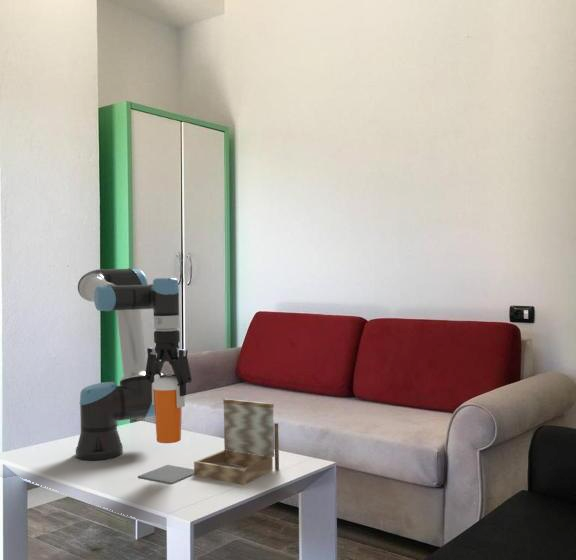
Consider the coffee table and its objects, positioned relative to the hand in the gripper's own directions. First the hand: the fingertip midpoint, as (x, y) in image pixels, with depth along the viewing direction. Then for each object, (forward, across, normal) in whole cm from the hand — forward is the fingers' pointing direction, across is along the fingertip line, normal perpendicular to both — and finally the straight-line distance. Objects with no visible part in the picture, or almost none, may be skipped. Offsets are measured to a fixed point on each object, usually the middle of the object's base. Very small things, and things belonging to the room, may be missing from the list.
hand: (168, 405), depth 197 cm
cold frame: (+21, +16, +12) cm, 29 cm away
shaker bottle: (+11, 0, 0) cm, 11 cm away
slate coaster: (+21, 0, 0) cm, 21 cm away
